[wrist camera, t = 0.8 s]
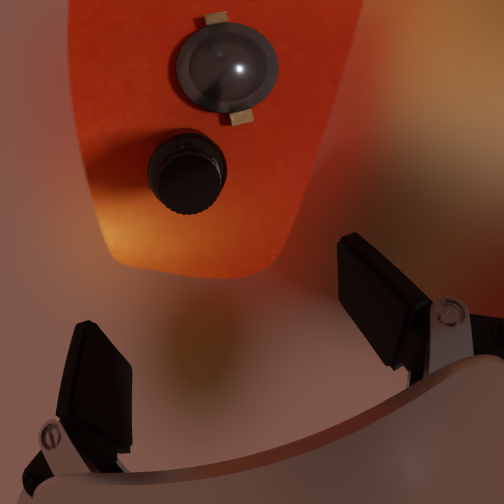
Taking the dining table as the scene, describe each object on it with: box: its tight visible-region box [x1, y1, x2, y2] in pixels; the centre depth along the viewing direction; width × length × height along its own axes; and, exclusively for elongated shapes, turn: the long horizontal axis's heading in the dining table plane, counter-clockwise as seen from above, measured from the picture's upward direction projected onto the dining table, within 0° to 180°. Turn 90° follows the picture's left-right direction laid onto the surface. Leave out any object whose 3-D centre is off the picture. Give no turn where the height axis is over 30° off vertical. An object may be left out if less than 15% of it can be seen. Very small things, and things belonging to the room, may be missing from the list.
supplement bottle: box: [147, 128, 227, 215], centre depth 23 cm, size 7×7×12 cm
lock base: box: [176, 11, 278, 126], centre depth 24 cm, size 14×11×1 cm
